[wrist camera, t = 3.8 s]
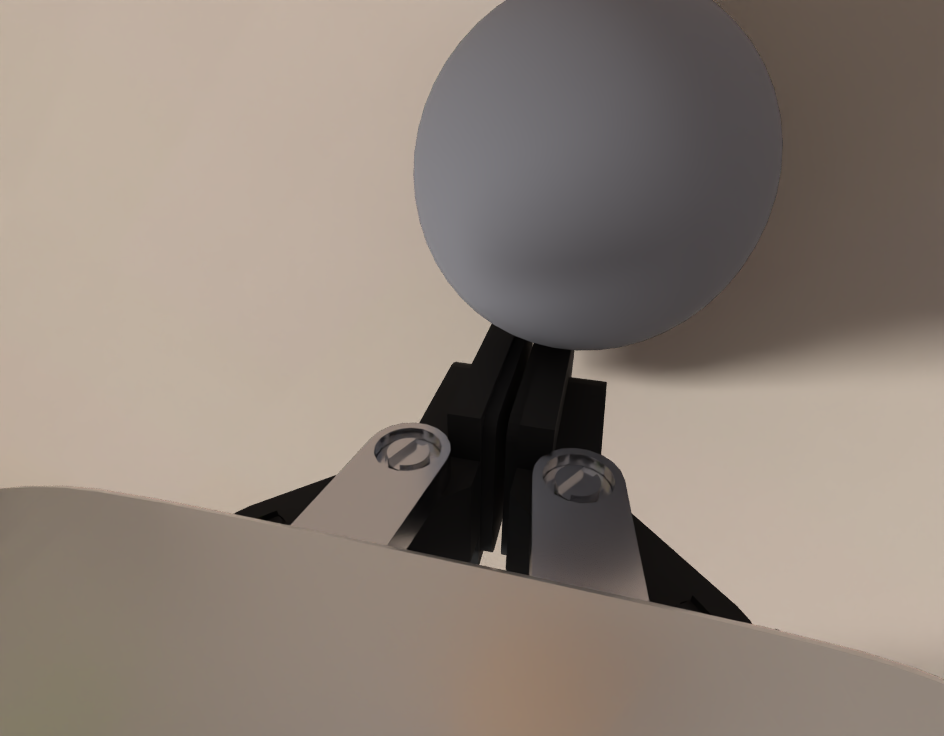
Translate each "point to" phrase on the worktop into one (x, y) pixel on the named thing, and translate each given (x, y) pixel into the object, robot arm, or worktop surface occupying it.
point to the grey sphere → (597, 166)
